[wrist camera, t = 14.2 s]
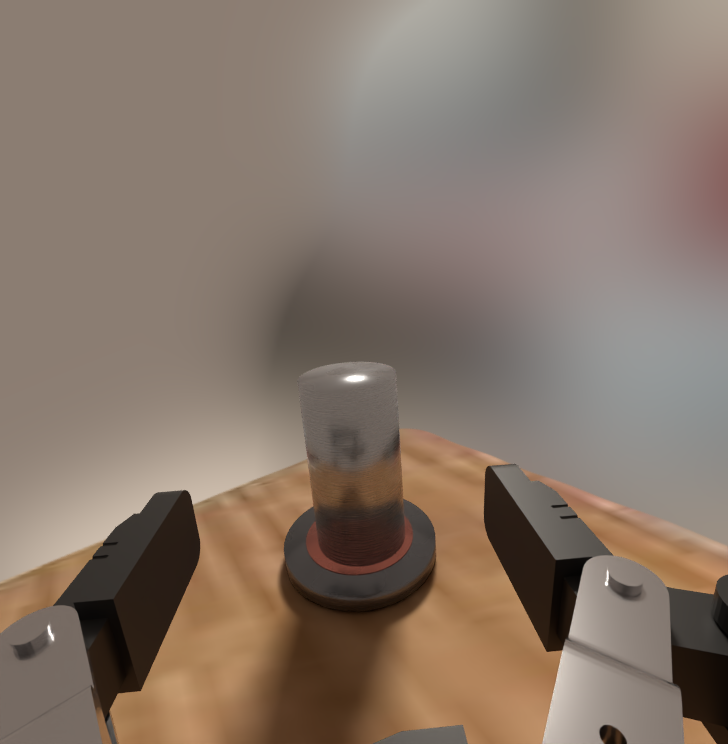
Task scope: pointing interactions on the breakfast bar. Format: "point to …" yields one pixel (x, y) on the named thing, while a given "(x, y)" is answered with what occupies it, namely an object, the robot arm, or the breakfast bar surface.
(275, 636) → the breakfast bar surface
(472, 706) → the breakfast bar surface
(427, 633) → the breakfast bar surface
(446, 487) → the breakfast bar surface
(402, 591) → the flange pad
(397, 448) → the grey metal cylinder
